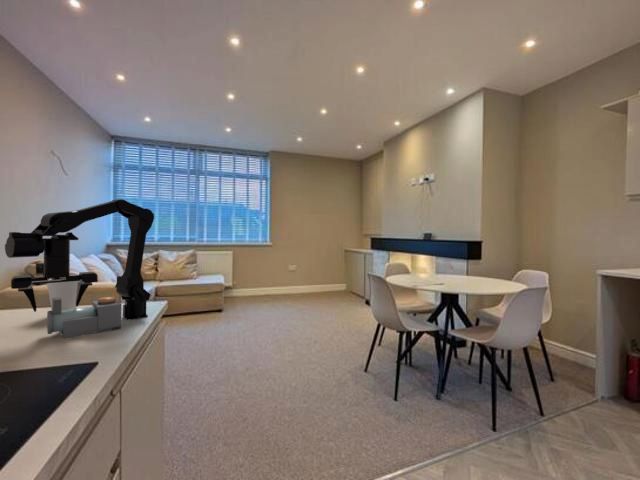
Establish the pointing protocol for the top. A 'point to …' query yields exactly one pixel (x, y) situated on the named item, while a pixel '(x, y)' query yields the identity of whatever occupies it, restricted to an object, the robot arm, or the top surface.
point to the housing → (94, 321)
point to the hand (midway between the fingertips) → (56, 308)
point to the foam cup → (64, 293)
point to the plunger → (106, 300)
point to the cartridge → (65, 315)
